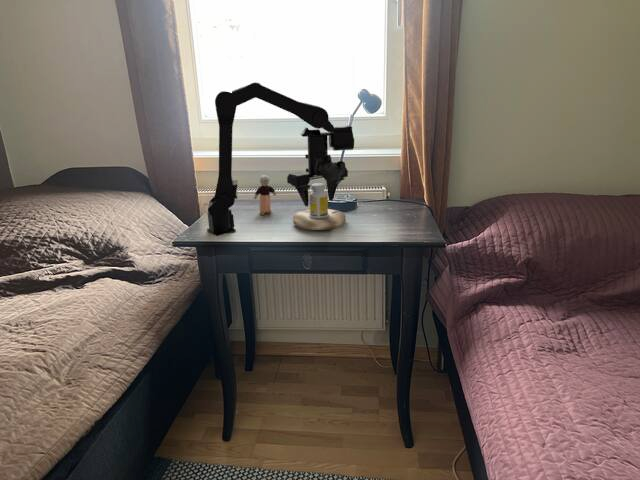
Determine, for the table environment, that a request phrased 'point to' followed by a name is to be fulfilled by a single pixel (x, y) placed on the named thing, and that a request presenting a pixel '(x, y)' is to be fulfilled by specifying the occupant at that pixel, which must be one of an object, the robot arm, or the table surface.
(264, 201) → the grandmother figurine
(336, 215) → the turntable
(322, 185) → the supplement bottle
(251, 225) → the table surface
